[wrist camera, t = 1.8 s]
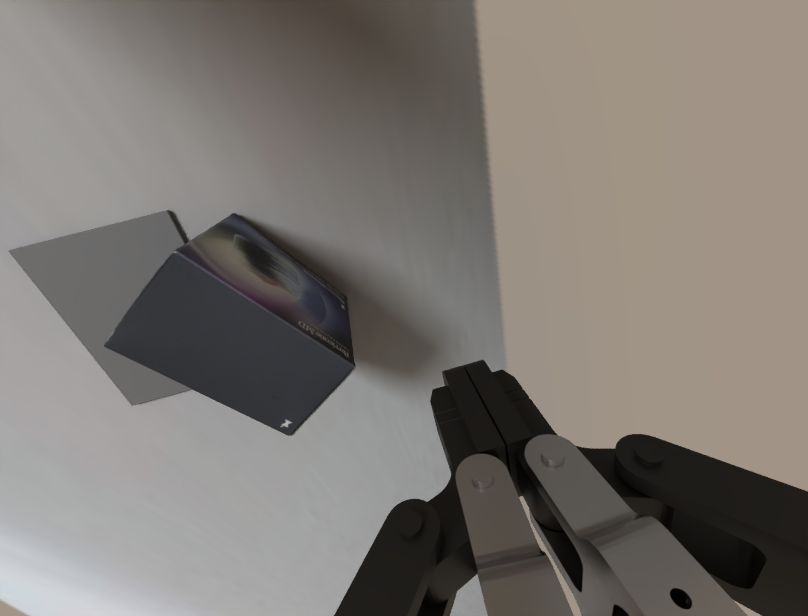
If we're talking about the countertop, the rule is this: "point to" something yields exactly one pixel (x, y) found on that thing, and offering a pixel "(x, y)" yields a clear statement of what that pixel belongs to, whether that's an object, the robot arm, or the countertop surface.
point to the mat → (106, 289)
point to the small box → (241, 326)
